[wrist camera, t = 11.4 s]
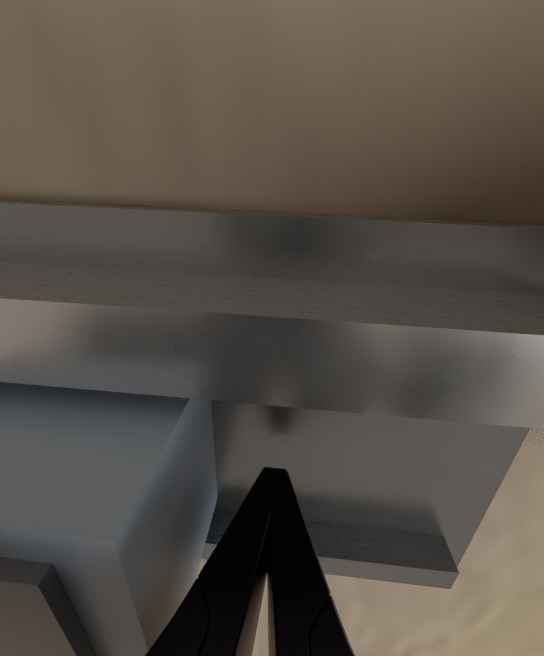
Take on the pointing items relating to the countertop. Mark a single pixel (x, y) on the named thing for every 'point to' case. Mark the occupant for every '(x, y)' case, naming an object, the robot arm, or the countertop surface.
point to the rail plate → (324, 451)
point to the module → (99, 516)
